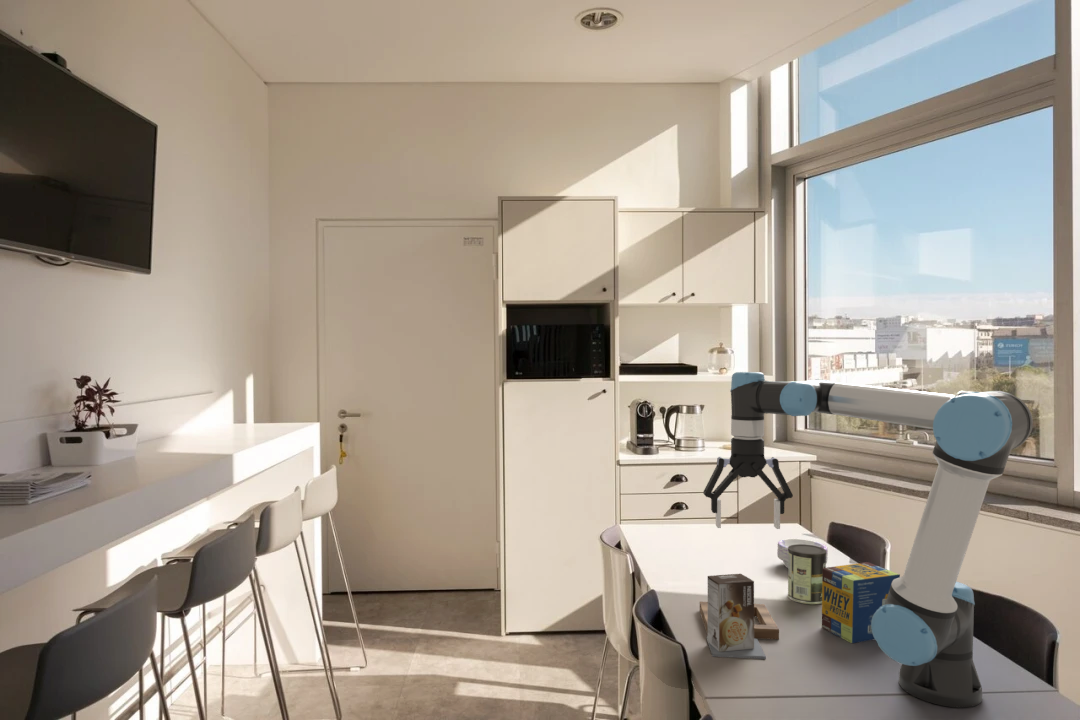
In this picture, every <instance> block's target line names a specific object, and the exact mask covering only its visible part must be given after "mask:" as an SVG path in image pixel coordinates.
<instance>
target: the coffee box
mask: <svg viewBox="0 0 1080 720" xmlns="http://www.w3.org/2000/svg"><path fill="white" fill-rule="evenodd" d="M707 602H708V635H707V636H708V641H707V643H708V642H709V643H710V644H711V645H712V646H713V647H714V648H715V649H717V650H718V651H719V652H725V651H734V650H744V649H754V624H755V617H754V604H755V581H754V580H753V579H751V578H750V577H748V576H747V575H744V574H742V573H732V574H717V575H707Z"/></svg>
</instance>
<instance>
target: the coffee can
mask: <svg viewBox="0 0 1080 720" xmlns="http://www.w3.org/2000/svg"><path fill="white" fill-rule="evenodd" d="M826 553H827V551H826V550H825V549H823V548H821V547H818V546H813V545H805V544H797V545H791V546H789V547H788V568H787V571H788V575H787V597H788V599H789V600H792V601H793V602H796V603H799V604H805V605H820V604H821V605H822V572H823V568H827V563H826Z"/></svg>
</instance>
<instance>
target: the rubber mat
mask: <svg viewBox="0 0 1080 720" xmlns="http://www.w3.org/2000/svg"><path fill="white" fill-rule="evenodd" d="M706 641H707V643H708V647H709V649H710V650H709V651H710V654H711V656H712V657H719V658H720V657H721V658H738V659H755V660H756V659H759V660H760V659H761V660H766V659H767V655H766V654H765V652H764V650H763V648H762V645H761V643H760V642H759V640H758V639H756V638H754V649H744V650H734V651H725V652H719V651H718V650H717V649H715V648H714V647H713V646H712V645H711V644H710V643H709V642H708V635H706Z"/></svg>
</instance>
